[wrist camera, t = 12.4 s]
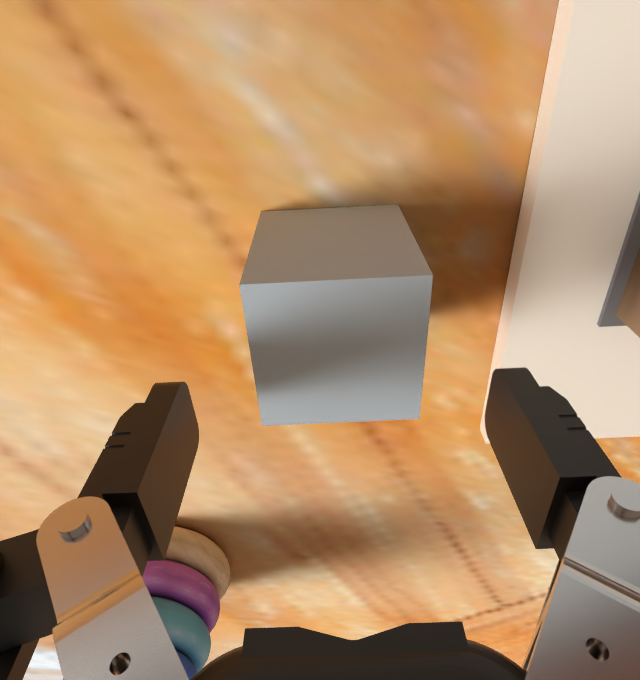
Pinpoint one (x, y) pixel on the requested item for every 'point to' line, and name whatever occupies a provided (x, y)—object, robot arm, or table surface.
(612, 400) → the cream board
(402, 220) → the slate block
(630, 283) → the walnut block
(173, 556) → the stacking toy
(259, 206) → the table surface
